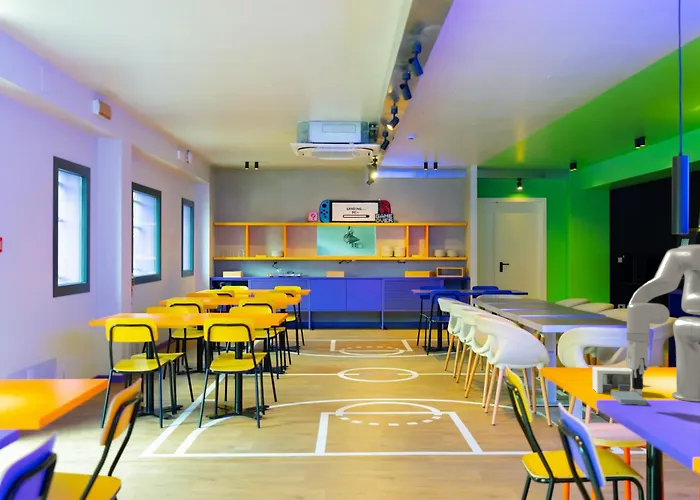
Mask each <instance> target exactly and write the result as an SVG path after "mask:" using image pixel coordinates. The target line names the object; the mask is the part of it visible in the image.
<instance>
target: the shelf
mask: <svg viewBox="0 0 700 500" xmlns="http://www.w3.org/2000/svg"><path fill="white" fill-rule="evenodd" d="M603 374H631V385H619V384H618V387H617V388H618V389H617V391H635V392H636V393H637V394H639V395H640V396H642V395H643V389H634V388H632V369H630V368H628V367H608V366H607V367H605V366H604V367H603V366H602V367H601V366H592V390H593V389H594V390H595V391H596V392H595V391H594V390H593V391H594V392H595V393H597V394H603V393H604V392H603V391H608V392H611V390H613V388H612V385H611V384H603Z"/></svg>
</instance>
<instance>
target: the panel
mask: <svg viewBox="0 0 700 500" xmlns="http://www.w3.org/2000/svg"><path fill="white" fill-rule="evenodd" d="M610 396H611V397H612V398H613V399H614V400H615V399H616V400H617V401H619V402H620V403H625V404H638V405H637V406H645V405H647V404H648V403H647V400H646V398H644V397H643V396H642V395H639V394H637V393H636V392H635V391H631V390H630V391H619V390H613V389H612V390H611V391H610ZM616 400H615V401H616ZM617 401H616V402H617ZM619 402H618V403H619ZM620 403H619V404H620ZM647 406H648V405H647Z"/></svg>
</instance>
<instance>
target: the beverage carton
mask: <svg viewBox="0 0 700 500" xmlns="http://www.w3.org/2000/svg"><path fill="white" fill-rule="evenodd" d="M603 384H611V385H612V389H615V387H617V388H618V384H619V385H630V386H631V374H603Z"/></svg>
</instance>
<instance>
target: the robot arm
mask: <svg viewBox="0 0 700 500" xmlns="http://www.w3.org/2000/svg"><path fill="white" fill-rule="evenodd" d="M683 276H684V283H683V284H684V285H683V292H682V296H681V310H682V311H683V312H685V313H687V314H691V315H699V316H700V244H684V245H680V246H678V247H677V248H676V247H675V248H671V249H668V250H667V251H666V253H665V255H664V256H663V259H662V261H661V262H660V264H659V266H658V270H657V271H656V273H655V275H654V277H653V278H652V279H650V280H649V281H647V282H646V283H644V284H643V285H642V286H640V287H639V288H638V289H637V290H636V291H635V292H634V293H633V295H632V296H631V299H630V301H629V303H628V305H627V307H626V342H627V345H626V346H627V347H626V362H625V365H626V368H630V369H632V388H634V389H642V390H643V389H644V375H645V371H647V370H648V368H649V351H648V350H649V349H648V344H649V343H650V342H651V341H650V336H651V335H650V333H651V332H650V331H651V330H650V328H651V327H650V325H651V324H652V325H663V324H665V323H666V322H667V321H669V319H670V310H669V309H668V307H666V306H665V305H664V304H661V303H653V302H650V301H651V300H652V299H654V298H656V297H659V296H662V295H665V294H668V293H670V292H673V291H675V290H676V289H677V288H678V287H679V285H680V282H681V280H682V277H683ZM672 333H673V336H674V341H675V356H676V357H675V361H676V363H675V364H676V367H675V368H676V369H675V370H676V392H673V393H672V394H671V396H672V397H673V398H674V399H675V400H676V399H678V400H681V401H686V402H688V401H689V402H700V317H697V316H680V317H678V318H676V319H675V320H674V322H673V324H672Z"/></svg>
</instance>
